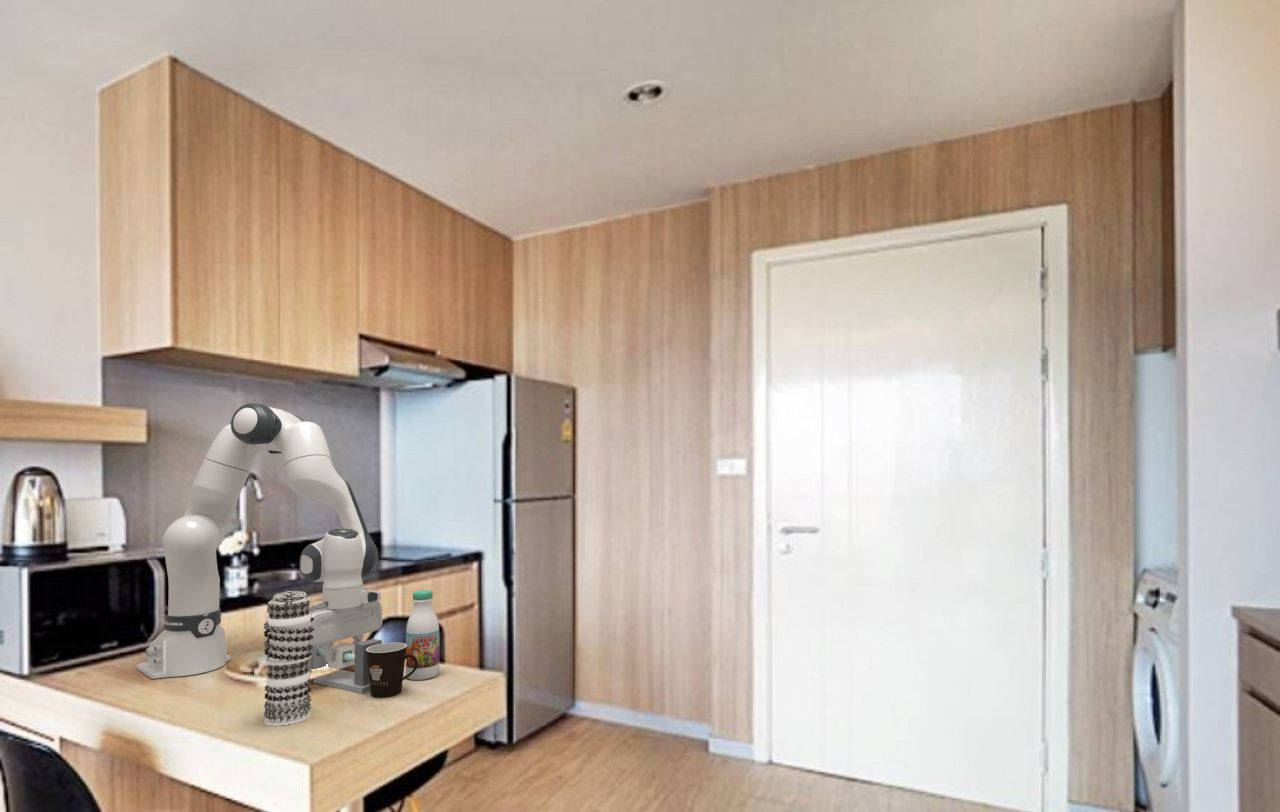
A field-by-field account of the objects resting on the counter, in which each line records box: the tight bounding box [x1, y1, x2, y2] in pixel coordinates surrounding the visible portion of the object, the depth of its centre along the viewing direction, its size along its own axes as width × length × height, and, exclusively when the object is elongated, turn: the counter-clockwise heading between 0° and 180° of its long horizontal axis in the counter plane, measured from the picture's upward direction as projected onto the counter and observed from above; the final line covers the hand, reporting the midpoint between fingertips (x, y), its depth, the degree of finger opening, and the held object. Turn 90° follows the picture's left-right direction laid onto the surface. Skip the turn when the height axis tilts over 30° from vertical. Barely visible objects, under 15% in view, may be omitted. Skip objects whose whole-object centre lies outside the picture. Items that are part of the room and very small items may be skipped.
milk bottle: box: [405, 589, 440, 681], centre depth 169 cm, size 8×8×20 cm
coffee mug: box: [366, 641, 418, 699], centre depth 156 cm, size 12×9×10 cm
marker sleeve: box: [328, 641, 355, 670], centre depth 166 cm, size 4×5×5 cm
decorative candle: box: [263, 590, 314, 727], centre depth 143 cm, size 9×9×25 cm
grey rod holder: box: [308, 638, 383, 695], centre depth 165 cm, size 22×7×10 cm, turn 59°
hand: (342, 658), depth 166 cm, fingers open, 5 cm apart
